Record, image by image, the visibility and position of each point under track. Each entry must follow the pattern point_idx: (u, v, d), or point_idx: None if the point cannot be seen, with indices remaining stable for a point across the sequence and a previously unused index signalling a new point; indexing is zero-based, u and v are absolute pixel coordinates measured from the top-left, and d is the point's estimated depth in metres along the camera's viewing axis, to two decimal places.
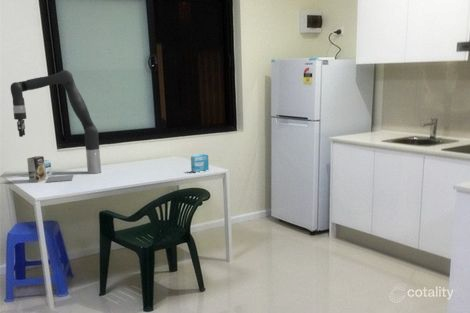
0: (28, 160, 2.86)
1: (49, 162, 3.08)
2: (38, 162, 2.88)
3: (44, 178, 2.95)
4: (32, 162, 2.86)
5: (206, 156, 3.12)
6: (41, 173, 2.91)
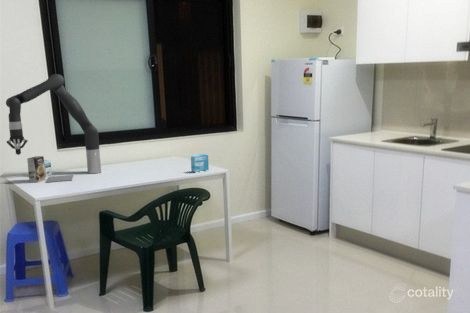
0: (28, 160, 2.86)
1: (49, 162, 3.08)
2: (38, 162, 2.88)
3: (44, 178, 2.95)
4: (32, 162, 2.86)
5: (206, 156, 3.11)
6: (41, 173, 2.91)
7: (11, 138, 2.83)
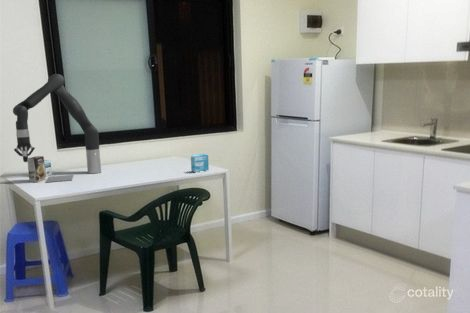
0: (28, 160, 2.86)
1: (49, 162, 3.08)
2: (38, 162, 2.88)
3: (44, 178, 2.95)
4: (32, 162, 2.86)
5: (206, 156, 3.12)
6: (41, 173, 2.91)
7: (18, 146, 2.85)
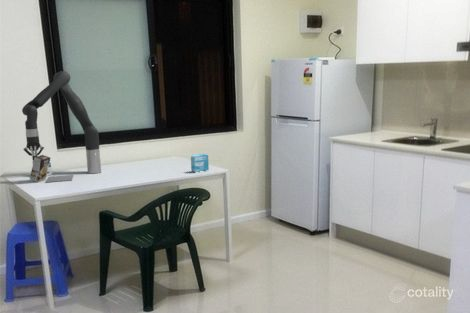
0: (35, 159, 2.85)
1: None
2: (44, 163, 2.88)
3: (44, 178, 2.95)
4: (38, 162, 2.85)
5: (206, 156, 3.11)
6: (43, 174, 2.91)
7: (28, 145, 2.86)
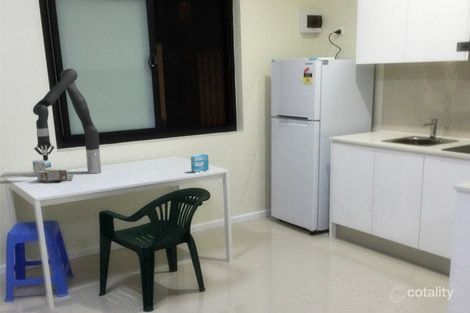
0: (57, 174, 2.84)
1: (49, 162, 3.08)
2: None
3: None
4: (55, 178, 2.85)
5: (206, 156, 3.11)
6: None
7: (39, 145, 2.88)
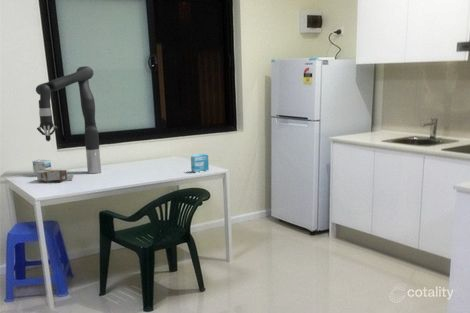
0: (57, 174, 2.84)
1: (49, 162, 3.08)
2: None
3: None
4: (55, 178, 2.85)
5: (206, 156, 3.11)
6: None
7: (41, 125, 2.86)
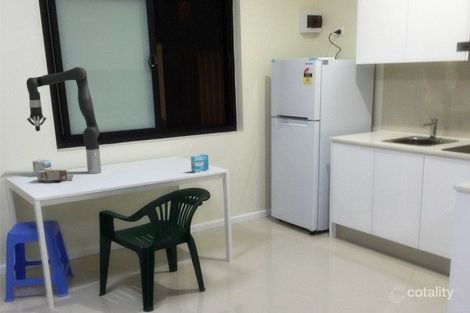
0: (57, 174, 2.84)
1: (49, 162, 3.08)
2: None
3: None
4: (55, 178, 2.85)
5: (206, 156, 3.11)
6: None
7: (31, 115, 3.04)
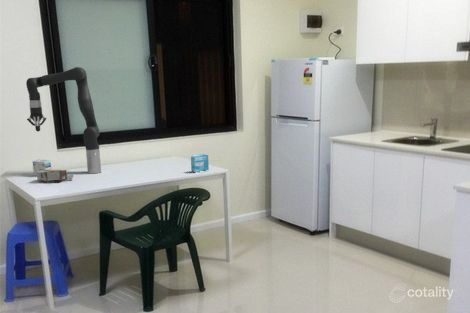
0: (57, 174, 2.84)
1: (49, 162, 3.08)
2: None
3: None
4: (55, 178, 2.85)
5: (206, 156, 3.12)
6: None
7: (31, 116, 3.04)
